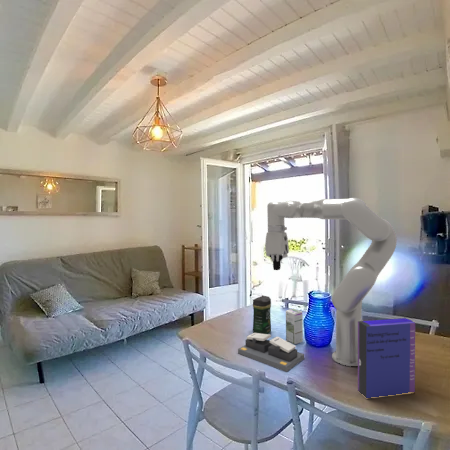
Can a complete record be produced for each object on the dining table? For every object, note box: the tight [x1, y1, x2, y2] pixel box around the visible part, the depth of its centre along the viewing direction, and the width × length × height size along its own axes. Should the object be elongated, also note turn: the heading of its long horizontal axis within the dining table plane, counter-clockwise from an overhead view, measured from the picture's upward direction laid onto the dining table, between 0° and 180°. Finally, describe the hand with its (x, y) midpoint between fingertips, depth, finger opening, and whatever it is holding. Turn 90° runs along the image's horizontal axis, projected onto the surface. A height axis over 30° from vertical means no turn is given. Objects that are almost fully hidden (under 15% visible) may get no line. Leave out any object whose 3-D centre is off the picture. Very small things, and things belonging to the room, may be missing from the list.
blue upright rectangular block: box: [357, 317, 416, 398], centre depth 103 cm, size 17×5×24 cm, turn 99°
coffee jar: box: [252, 295, 272, 335], centre depth 155 cm, size 10×8×19 cm
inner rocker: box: [269, 336, 297, 353], centre depth 126 cm, size 9×6×1 cm, turn 48°
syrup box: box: [285, 308, 304, 345], centre depth 145 cm, size 6×6×14 cm
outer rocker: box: [246, 332, 272, 341], centre depth 134 cm, size 9×6×1 cm, turn 48°
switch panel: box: [237, 338, 305, 373], centre depth 130 cm, size 24×14×7 cm, turn 48°
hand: (276, 269), depth 140 cm, fingers closed
